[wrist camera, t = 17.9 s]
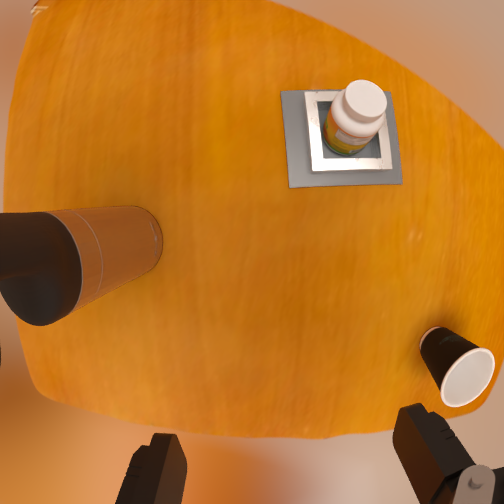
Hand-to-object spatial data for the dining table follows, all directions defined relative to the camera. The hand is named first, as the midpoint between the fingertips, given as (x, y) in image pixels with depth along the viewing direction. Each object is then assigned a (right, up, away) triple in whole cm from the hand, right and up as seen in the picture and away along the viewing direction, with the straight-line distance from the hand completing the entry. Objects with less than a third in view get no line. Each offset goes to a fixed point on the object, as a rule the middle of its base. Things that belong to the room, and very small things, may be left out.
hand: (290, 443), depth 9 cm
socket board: (+10, +21, +25) cm, 34 cm away
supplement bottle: (+9, +20, +24) cm, 33 cm away
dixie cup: (+24, -6, +27) cm, 37 cm away
